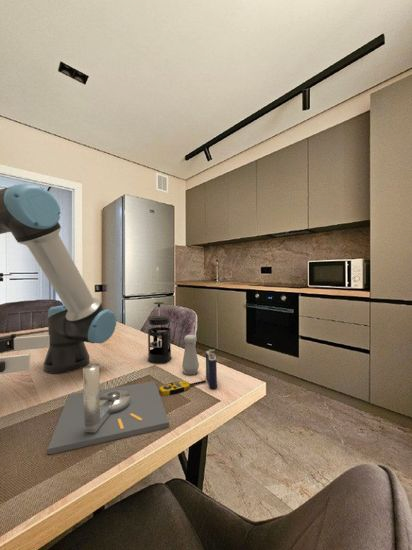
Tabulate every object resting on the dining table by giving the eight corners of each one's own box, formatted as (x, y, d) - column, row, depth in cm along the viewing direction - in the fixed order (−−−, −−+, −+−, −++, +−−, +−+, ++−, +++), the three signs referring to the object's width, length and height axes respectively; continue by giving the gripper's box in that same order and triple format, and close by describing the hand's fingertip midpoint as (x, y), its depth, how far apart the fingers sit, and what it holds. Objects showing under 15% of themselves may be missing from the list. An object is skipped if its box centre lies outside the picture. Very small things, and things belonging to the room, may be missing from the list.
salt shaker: (196, 376, 83) (196, 338, 82) (180, 375, 84) (179, 337, 84) (200, 369, 88) (200, 333, 88) (185, 368, 90) (184, 332, 89)
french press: (143, 357, 101) (142, 301, 100) (165, 353, 106) (164, 300, 105) (154, 367, 91) (153, 305, 90) (177, 361, 96) (176, 303, 96)
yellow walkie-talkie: (157, 384, 74) (202, 374, 80) (157, 391, 74) (202, 380, 81) (162, 391, 69) (209, 380, 76) (162, 398, 70) (209, 386, 76)
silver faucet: (106, 395, 68) (105, 346, 68) (134, 396, 67) (133, 347, 67) (70, 433, 52) (68, 369, 52) (106, 435, 52) (105, 371, 51)
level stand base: (68, 399, 69) (68, 394, 69) (155, 384, 77) (155, 380, 77) (47, 455, 48) (47, 448, 48) (169, 427, 56) (169, 421, 56)
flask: (205, 376, 82) (205, 345, 82) (213, 376, 83) (213, 344, 83) (209, 390, 73) (209, 354, 73) (219, 389, 74) (219, 354, 73)
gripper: (-57, 361, 54) (55, 349, 61) (-187, 431, 31) (18, 399, 38) (-58, 327, 54) (54, 320, 61) (-190, 371, 30) (16, 350, 38)
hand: (40, 350), depth 50 cm, fingers open, 13 cm apart
